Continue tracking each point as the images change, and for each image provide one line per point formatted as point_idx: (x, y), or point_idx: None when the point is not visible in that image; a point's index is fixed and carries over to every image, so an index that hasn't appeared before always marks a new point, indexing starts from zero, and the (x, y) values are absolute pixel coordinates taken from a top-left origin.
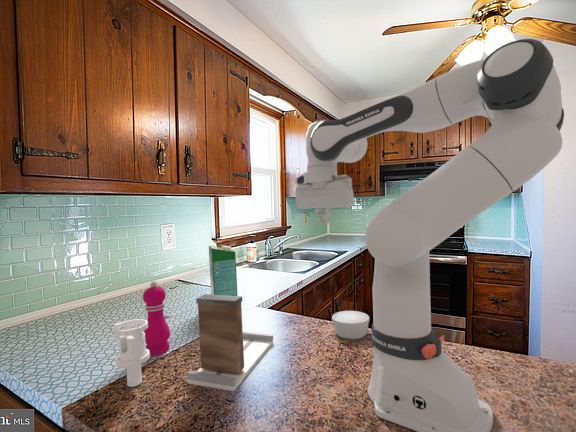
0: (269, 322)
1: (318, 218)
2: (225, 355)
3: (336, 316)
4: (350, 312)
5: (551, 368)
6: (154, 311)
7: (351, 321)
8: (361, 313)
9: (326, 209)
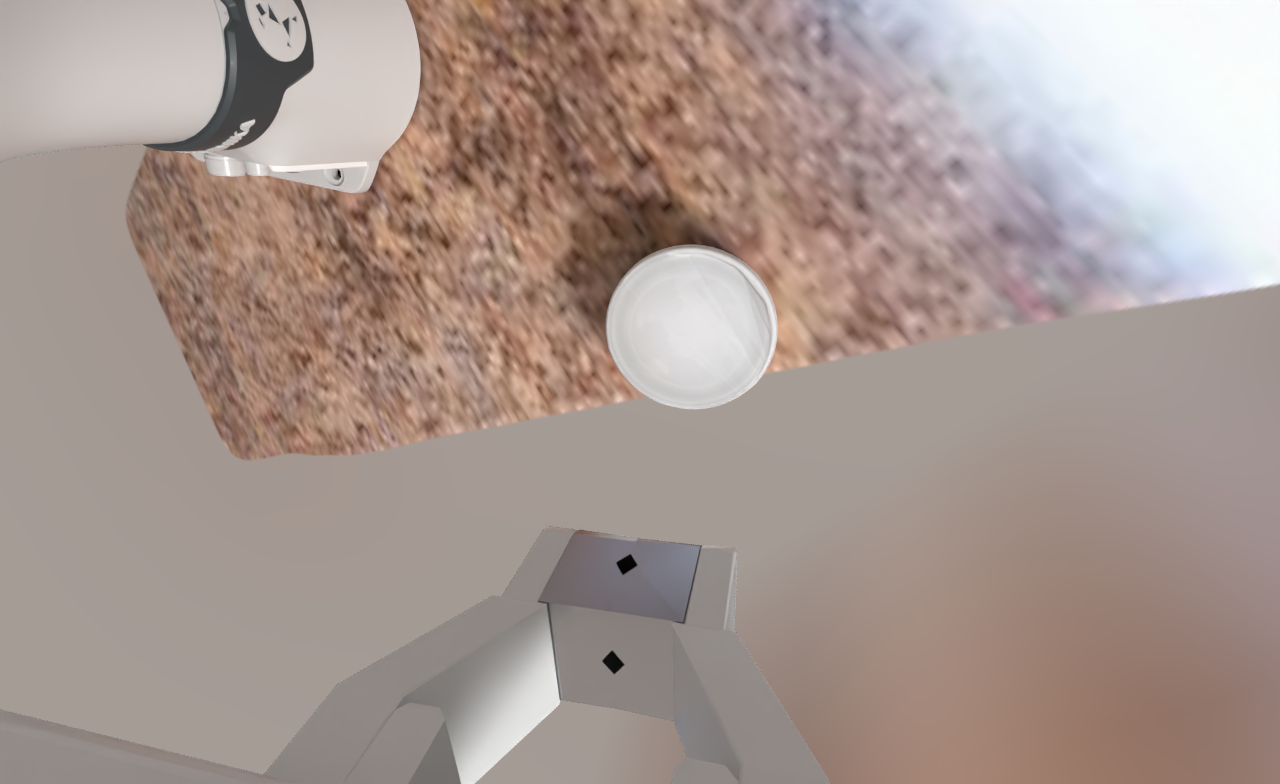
0: (1168, 128)
1: (716, 610)
2: None
3: (754, 309)
4: (720, 378)
5: (245, 434)
6: None
7: (648, 287)
8: (673, 394)
9: (329, 759)
